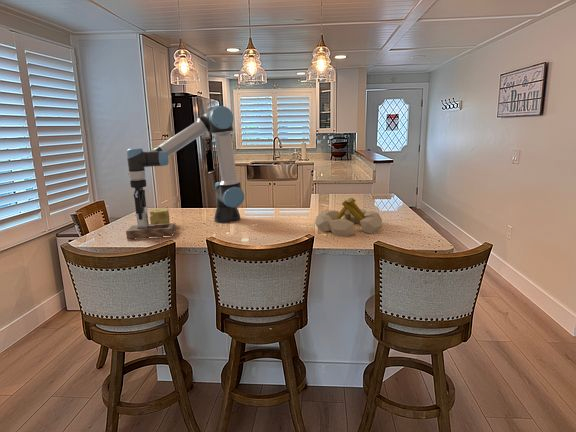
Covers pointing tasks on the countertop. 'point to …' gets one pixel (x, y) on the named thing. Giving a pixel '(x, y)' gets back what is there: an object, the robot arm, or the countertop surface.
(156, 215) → the cheese
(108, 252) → the countertop surface
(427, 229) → the countertop surface
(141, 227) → the peg
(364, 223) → the campfire
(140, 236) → the keyhole plate
